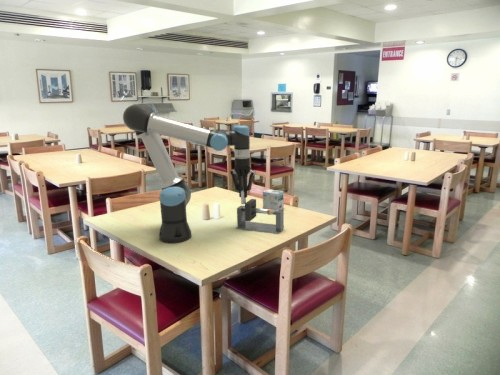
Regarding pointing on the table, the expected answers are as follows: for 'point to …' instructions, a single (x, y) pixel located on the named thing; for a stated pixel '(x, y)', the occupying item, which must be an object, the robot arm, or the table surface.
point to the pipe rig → (260, 226)
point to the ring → (248, 213)
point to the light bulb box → (273, 199)
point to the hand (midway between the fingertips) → (243, 203)
